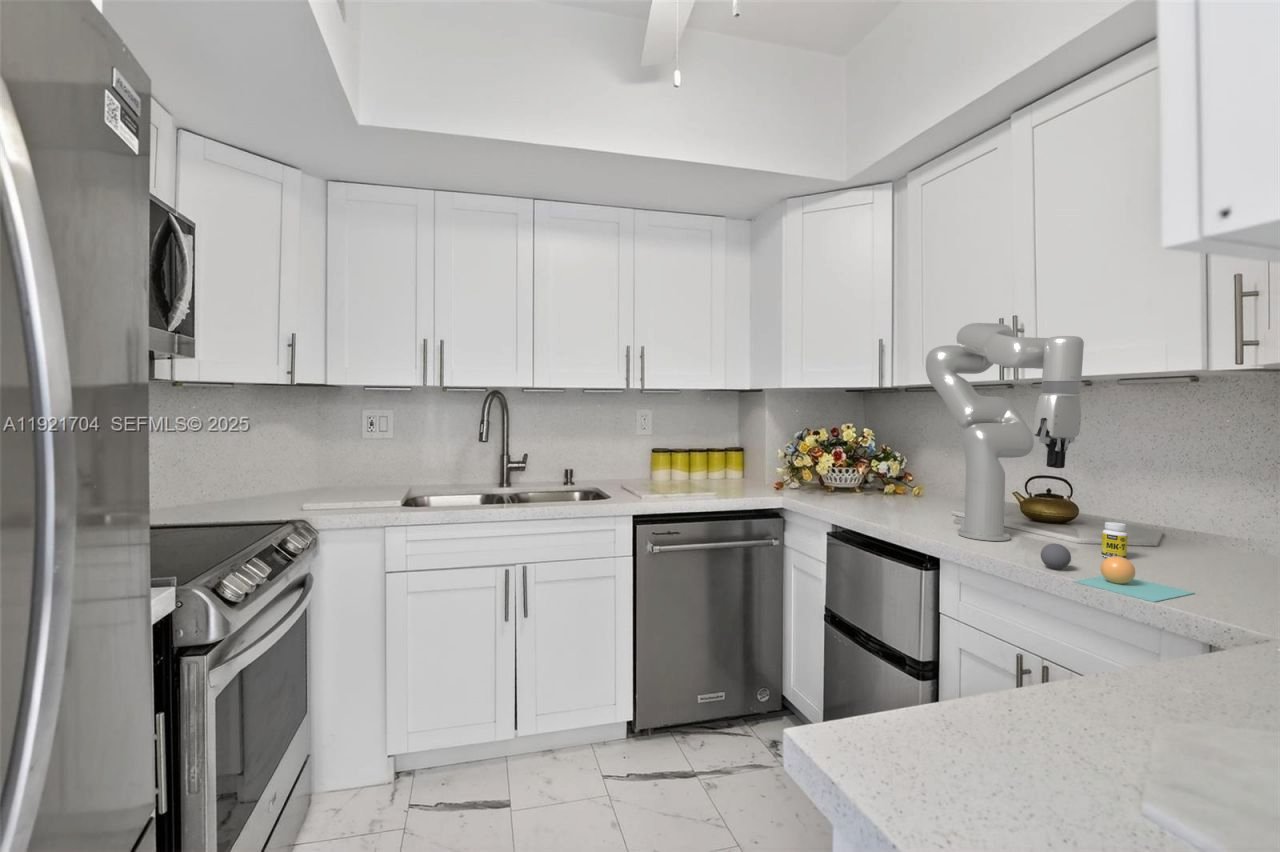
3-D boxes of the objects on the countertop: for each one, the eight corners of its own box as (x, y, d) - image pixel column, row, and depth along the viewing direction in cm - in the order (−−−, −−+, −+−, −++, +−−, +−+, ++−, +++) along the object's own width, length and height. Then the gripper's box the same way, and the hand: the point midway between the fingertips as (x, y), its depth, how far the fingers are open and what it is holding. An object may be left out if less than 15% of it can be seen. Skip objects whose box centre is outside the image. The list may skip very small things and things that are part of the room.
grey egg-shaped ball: (1056, 542, 131) (1063, 568, 130) (1072, 541, 133) (1080, 566, 132) (1031, 546, 136) (1038, 571, 135) (1047, 544, 138) (1055, 569, 137)
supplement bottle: (1103, 558, 144) (1104, 523, 144) (1099, 554, 148) (1100, 520, 148) (1128, 561, 142) (1130, 526, 141) (1123, 557, 146) (1125, 522, 145)
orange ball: (1111, 552, 122) (1132, 577, 118) (1127, 549, 124) (1148, 574, 120) (1088, 566, 125) (1108, 590, 122) (1104, 563, 128) (1124, 587, 124)
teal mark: (1074, 581, 124) (1074, 580, 124) (1114, 574, 130) (1114, 573, 130) (1154, 602, 111) (1154, 601, 111) (1195, 593, 117) (1195, 592, 117)
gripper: (1065, 389, 147) (1060, 464, 148) (1023, 389, 141) (1018, 466, 142) (1098, 390, 140) (1093, 468, 141) (1055, 389, 134) (1049, 471, 135)
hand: (1055, 467), depth 142 cm, fingers closed
